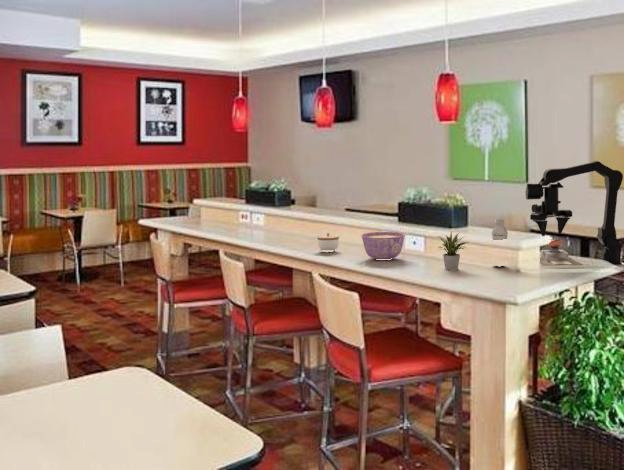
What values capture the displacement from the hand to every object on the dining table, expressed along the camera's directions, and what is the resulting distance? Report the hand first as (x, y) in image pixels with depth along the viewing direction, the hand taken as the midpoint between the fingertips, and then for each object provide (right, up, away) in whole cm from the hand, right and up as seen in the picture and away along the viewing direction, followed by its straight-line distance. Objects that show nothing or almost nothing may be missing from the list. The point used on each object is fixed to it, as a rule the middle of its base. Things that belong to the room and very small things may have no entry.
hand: (551, 235), depth 298 cm
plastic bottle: (-23, -14, -2) cm, 27 cm away
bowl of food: (-70, -12, +24) cm, 75 cm away
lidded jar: (-94, -9, +51) cm, 107 cm away
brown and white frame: (+2, -13, -1) cm, 13 cm away
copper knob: (+2, -11, +3) cm, 11 cm away
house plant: (-45, -15, -5) cm, 47 cm away
